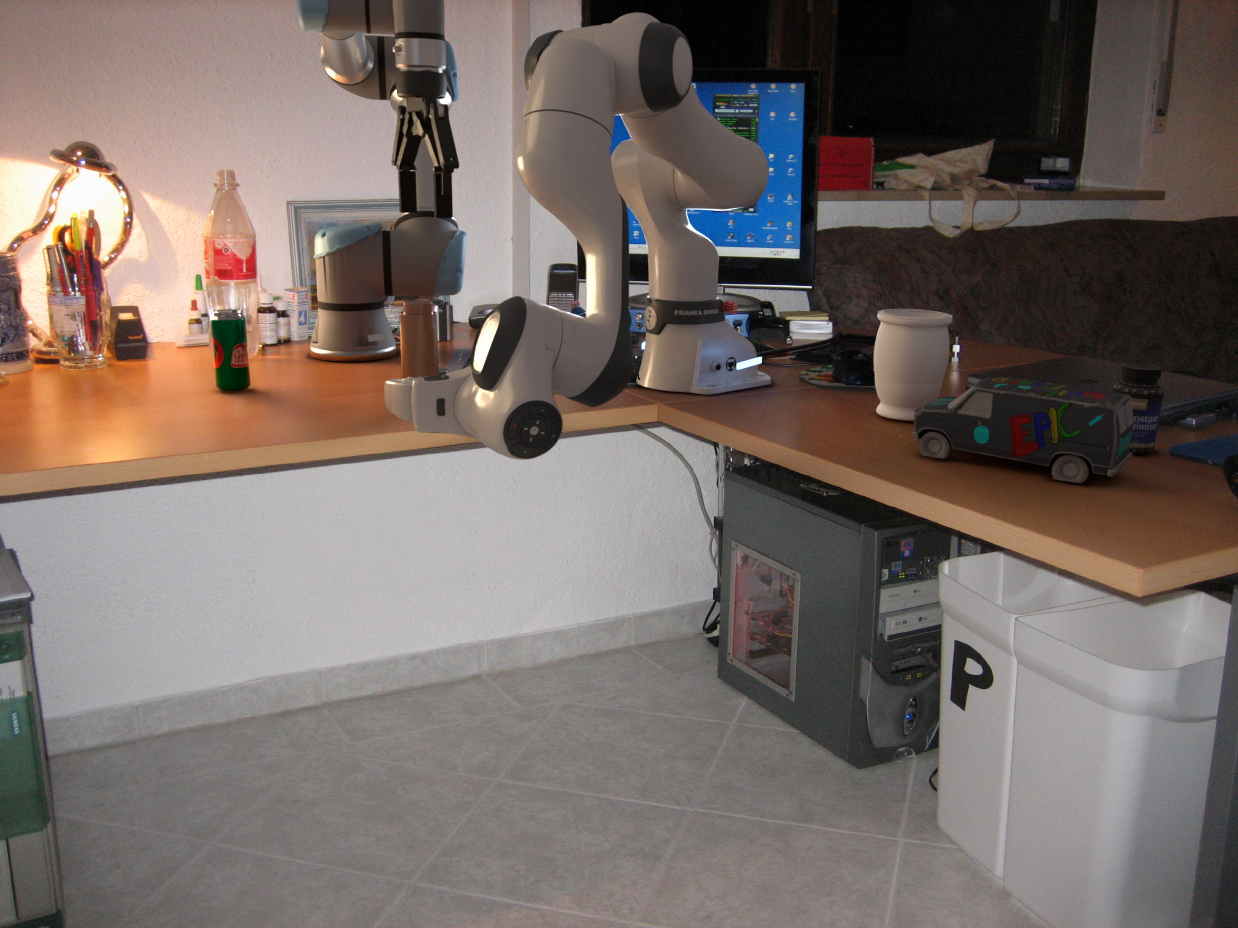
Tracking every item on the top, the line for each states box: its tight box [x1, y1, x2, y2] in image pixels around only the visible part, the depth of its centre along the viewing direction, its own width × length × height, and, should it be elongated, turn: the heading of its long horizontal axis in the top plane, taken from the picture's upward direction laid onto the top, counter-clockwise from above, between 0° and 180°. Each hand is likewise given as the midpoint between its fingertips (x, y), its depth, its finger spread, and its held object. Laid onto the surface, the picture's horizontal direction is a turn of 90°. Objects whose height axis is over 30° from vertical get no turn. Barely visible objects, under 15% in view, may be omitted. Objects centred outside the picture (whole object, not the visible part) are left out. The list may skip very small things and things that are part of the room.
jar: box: [873, 308, 953, 422], centre depth 154 cm, size 11×10×15 cm
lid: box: [438, 366, 449, 375], centre depth 174 cm, size 6×6×2 cm
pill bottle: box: [1111, 362, 1165, 455], centre depth 139 cm, size 6×6×11 cm
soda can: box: [209, 308, 251, 393], centre depth 163 cm, size 5×5×12 cm
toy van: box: [911, 376, 1135, 484], centre depth 132 cm, size 11×25×10 cm, turn 54°
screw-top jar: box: [398, 299, 440, 379], centre depth 153 cm, size 5×5×16 cm
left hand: (425, 215), depth 167 cm, fingers open, 13 cm apart
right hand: (446, 380), depth 143 cm, fingers open, 8 cm apart
